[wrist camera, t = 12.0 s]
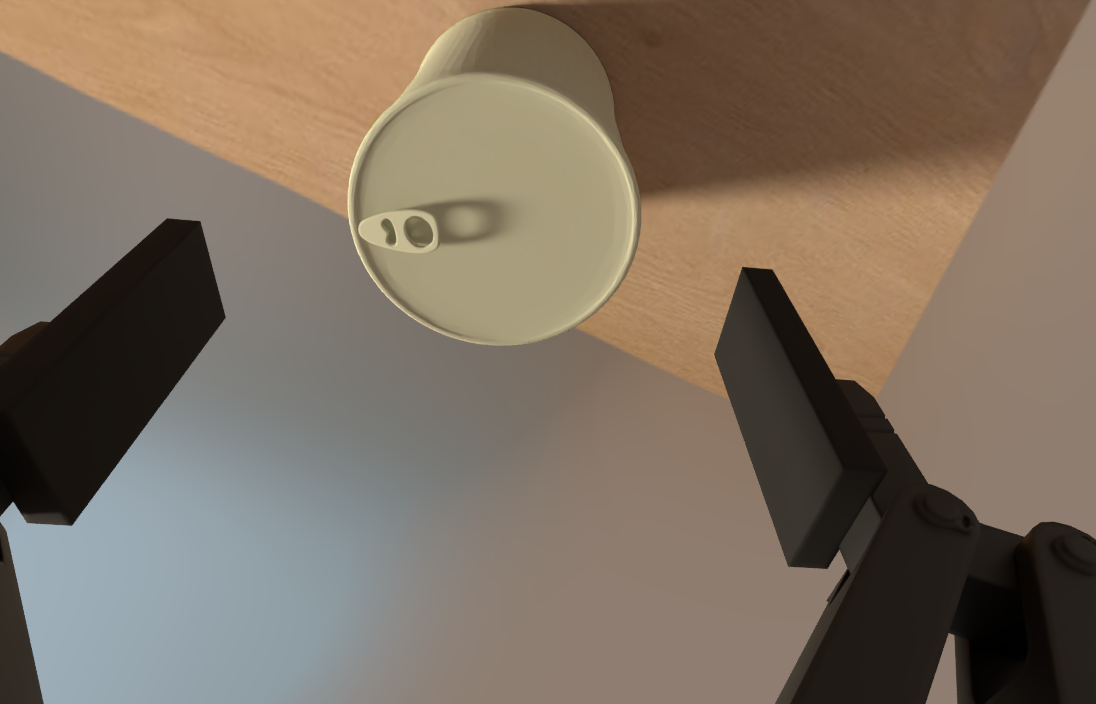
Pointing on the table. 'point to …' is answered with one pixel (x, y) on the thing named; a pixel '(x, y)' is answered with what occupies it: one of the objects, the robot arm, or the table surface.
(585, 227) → the can
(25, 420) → the robot arm
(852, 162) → the table surface
